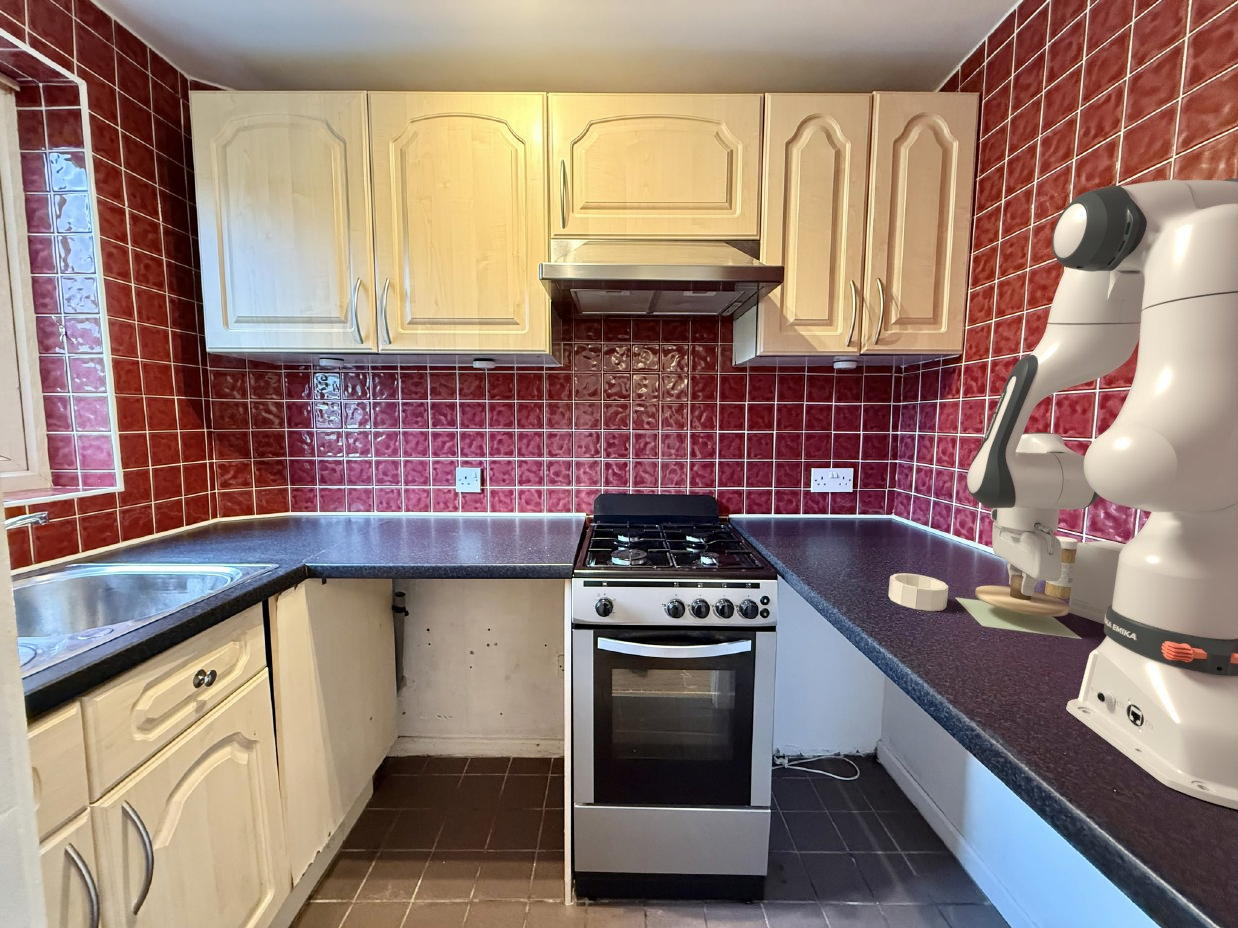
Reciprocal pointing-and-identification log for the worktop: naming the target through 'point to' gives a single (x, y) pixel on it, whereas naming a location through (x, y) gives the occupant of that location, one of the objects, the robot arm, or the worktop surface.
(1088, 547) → the supplement box
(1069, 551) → the sprinkles bottle
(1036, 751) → the worktop surface
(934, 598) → the bowl
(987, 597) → the lid
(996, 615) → the mat
